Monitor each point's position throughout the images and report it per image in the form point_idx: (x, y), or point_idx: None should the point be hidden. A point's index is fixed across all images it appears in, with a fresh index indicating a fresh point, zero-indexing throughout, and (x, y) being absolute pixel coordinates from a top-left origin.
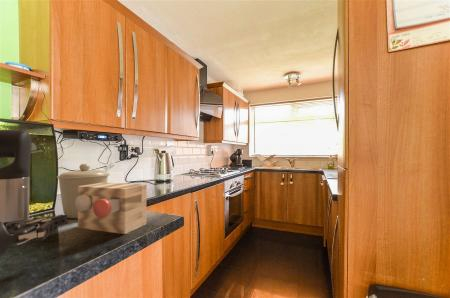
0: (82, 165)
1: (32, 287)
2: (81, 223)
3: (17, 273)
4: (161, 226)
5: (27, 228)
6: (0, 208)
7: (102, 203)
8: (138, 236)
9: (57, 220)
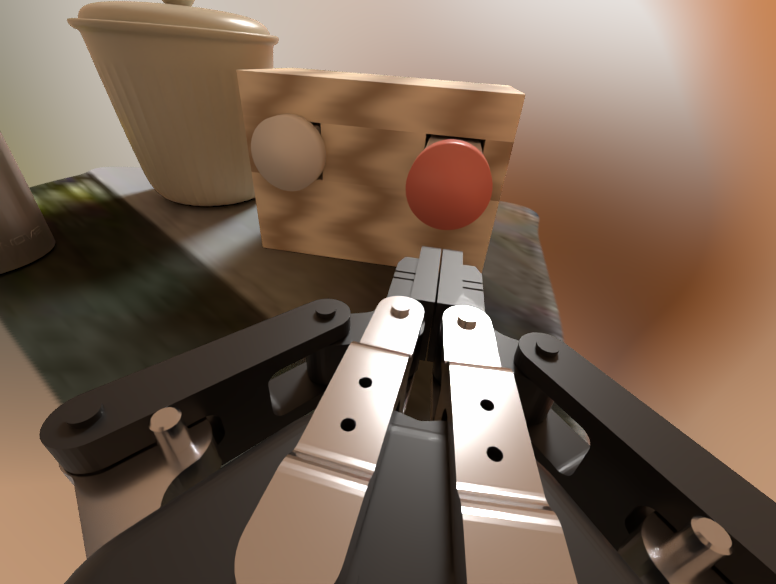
0: None
1: None
2: (278, 234)
3: None
4: (539, 243)
5: None
6: None
7: (470, 165)
8: (542, 289)
9: (482, 307)
